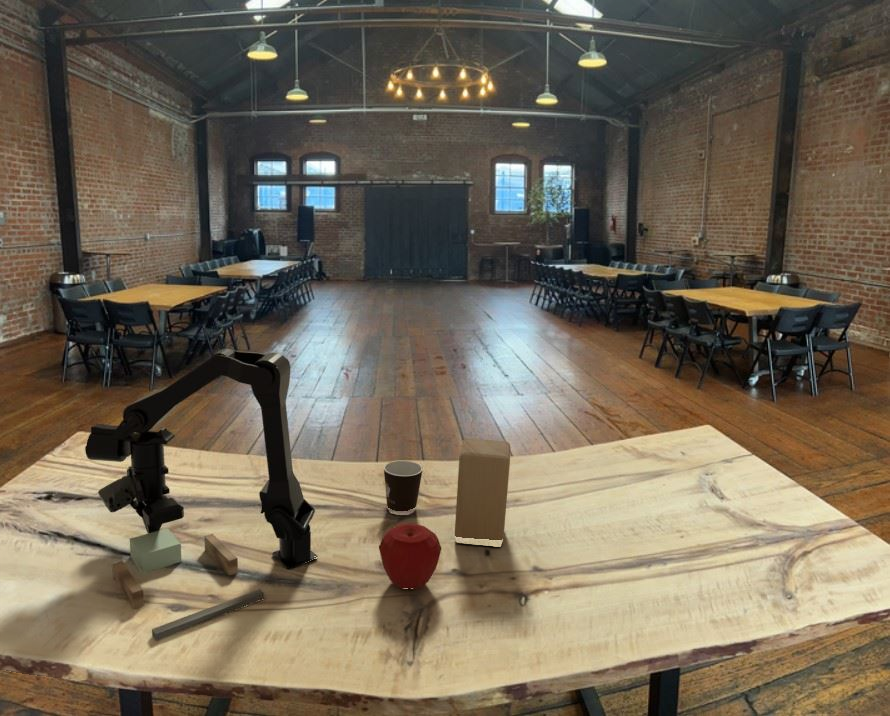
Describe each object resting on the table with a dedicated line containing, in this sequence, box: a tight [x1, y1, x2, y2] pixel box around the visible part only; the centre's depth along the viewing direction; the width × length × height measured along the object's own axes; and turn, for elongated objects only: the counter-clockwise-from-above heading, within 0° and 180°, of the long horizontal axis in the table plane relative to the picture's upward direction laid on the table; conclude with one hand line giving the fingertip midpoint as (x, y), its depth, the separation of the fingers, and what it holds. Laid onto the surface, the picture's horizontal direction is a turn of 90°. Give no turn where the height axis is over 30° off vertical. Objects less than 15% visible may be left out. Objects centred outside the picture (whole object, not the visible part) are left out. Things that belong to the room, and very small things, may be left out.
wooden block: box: [454, 437, 511, 540], centre depth 140 cm, size 10×10×20 cm
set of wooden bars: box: [111, 533, 265, 642], centre depth 118 cm, size 21×18×3 cm
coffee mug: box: [383, 459, 423, 511], centre depth 152 cm, size 12×9×10 cm
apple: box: [378, 522, 442, 589], centre depth 122 cm, size 11×11×12 cm
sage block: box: [129, 528, 182, 574], centre depth 126 cm, size 7×7×4 cm
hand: (152, 537), depth 130 cm, fingers closed
